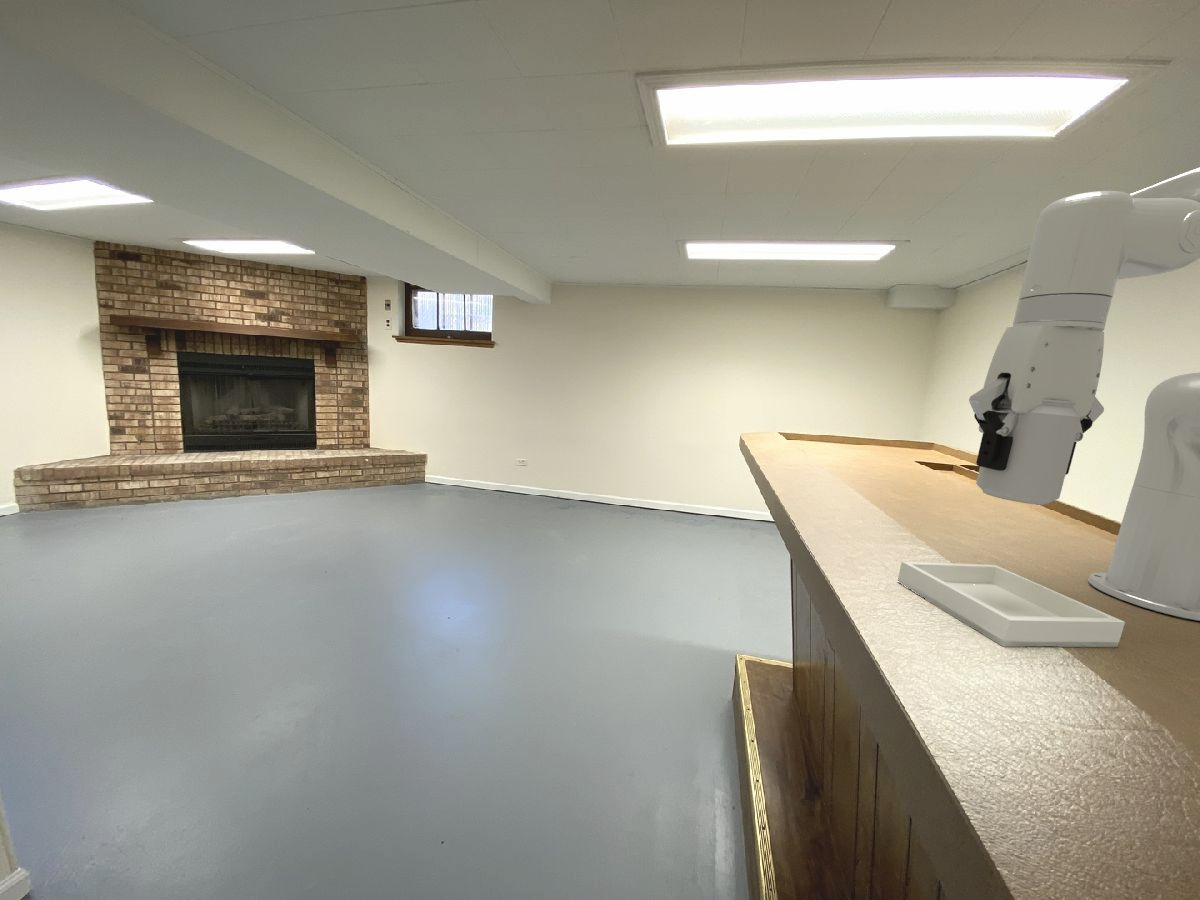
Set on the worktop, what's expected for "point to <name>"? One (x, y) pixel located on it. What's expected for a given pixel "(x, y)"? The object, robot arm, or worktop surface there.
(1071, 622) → the tray
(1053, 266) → the robot arm
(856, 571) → the worktop surface
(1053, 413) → the can
